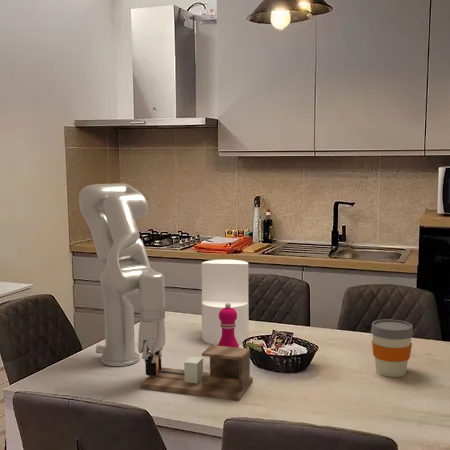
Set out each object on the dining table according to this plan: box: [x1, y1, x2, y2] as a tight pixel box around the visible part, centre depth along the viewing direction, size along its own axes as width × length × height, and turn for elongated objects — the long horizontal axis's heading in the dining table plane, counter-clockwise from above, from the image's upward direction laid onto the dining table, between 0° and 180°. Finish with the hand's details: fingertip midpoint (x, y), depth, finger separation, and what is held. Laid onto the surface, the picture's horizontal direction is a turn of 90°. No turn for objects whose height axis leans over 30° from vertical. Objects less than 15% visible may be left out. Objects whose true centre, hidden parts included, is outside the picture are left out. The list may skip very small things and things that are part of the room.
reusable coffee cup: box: [370, 318, 414, 378], centre depth 187 cm, size 13×13×15 cm
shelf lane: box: [140, 344, 254, 401], centre depth 177 cm, size 30×14×11 cm, turn 72°
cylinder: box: [201, 259, 250, 346], centre depth 222 cm, size 17×17×28 cm
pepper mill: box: [217, 303, 240, 348], centre depth 196 cm, size 7×7×20 cm
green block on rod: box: [148, 354, 204, 383], centre depth 180 cm, size 16×5×6 cm, turn 72°
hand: (153, 372), depth 182 cm, fingers closed on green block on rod, 3 cm apart
